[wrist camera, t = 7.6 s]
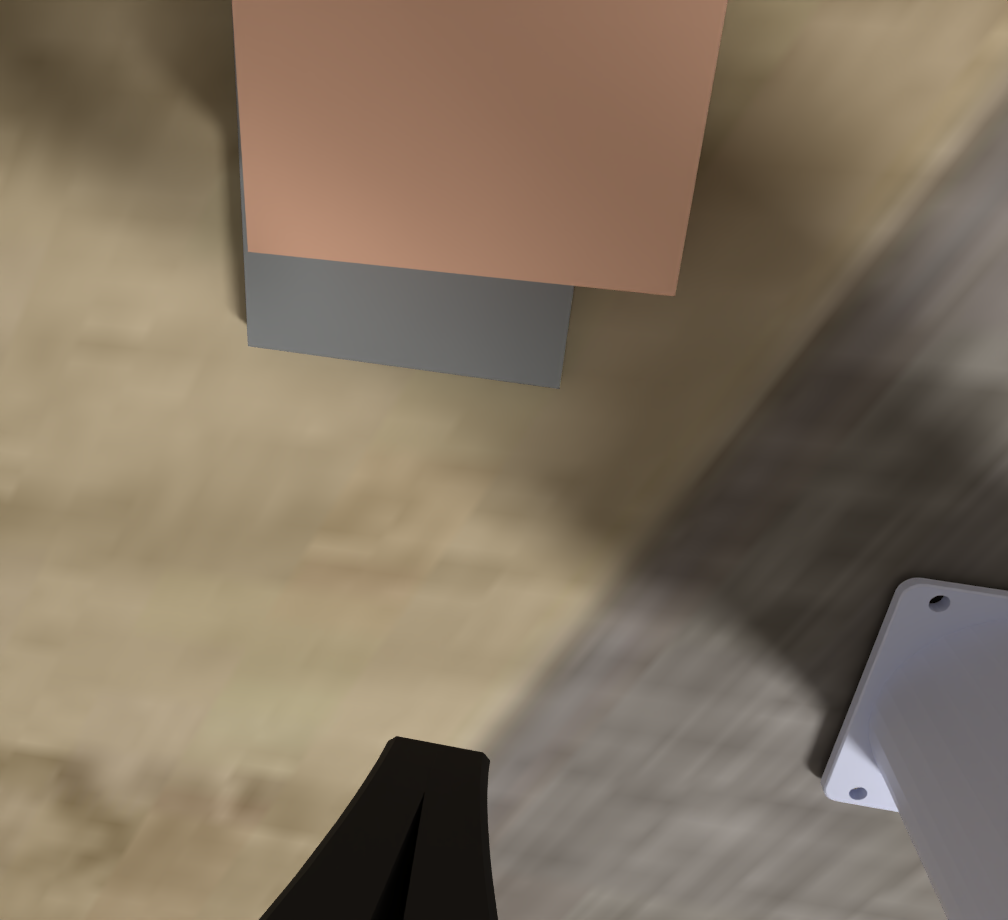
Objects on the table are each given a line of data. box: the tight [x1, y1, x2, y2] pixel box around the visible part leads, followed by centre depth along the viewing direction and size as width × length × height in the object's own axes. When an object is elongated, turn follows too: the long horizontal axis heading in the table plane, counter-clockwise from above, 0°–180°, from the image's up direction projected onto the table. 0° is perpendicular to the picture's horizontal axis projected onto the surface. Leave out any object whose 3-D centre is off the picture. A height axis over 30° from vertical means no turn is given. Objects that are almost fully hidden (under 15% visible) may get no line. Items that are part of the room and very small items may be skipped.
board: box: [232, 11, 574, 389], centre depth 16 cm, size 8×12×1 cm, turn 175°
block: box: [232, 0, 728, 296], centre depth 13 cm, size 4×6×8 cm
